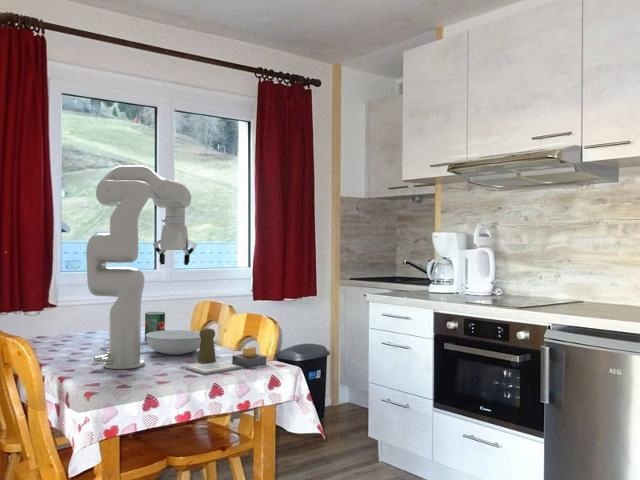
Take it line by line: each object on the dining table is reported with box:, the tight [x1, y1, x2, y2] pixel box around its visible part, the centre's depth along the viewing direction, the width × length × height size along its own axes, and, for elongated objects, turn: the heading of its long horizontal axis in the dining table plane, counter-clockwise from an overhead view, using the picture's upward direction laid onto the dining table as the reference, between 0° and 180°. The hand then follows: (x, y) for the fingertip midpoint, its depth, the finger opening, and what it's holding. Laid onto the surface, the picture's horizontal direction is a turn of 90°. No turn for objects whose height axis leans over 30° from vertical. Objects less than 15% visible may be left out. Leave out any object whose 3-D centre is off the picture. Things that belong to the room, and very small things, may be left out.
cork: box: [197, 327, 217, 364], centre depth 199 cm, size 6×6×11 cm
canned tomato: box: [144, 311, 166, 342], centre depth 240 cm, size 8×8×11 cm
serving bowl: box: [146, 329, 201, 356], centre depth 213 cm, size 21×21×7 cm
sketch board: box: [185, 361, 243, 376], centre depth 187 cm, size 14×11×1 cm
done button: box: [242, 346, 257, 358], centre depth 195 cm, size 4×4×3 cm
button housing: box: [231, 353, 267, 369], centre depth 195 cm, size 8×8×3 cm
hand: (174, 264), depth 234 cm, fingers open, 9 cm apart
